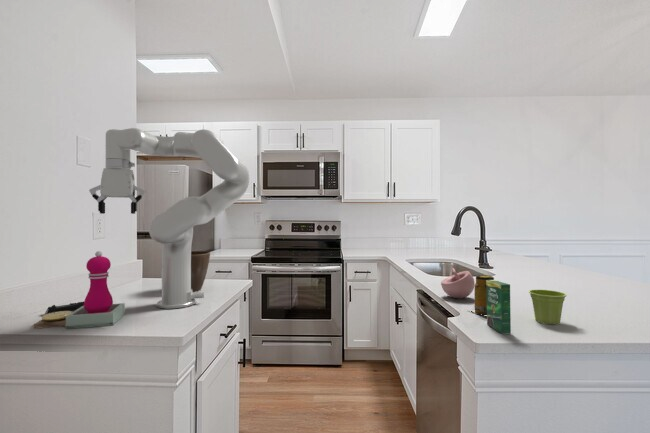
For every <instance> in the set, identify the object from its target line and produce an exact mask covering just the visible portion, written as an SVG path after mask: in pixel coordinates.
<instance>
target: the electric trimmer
mask: <svg viewBox="0 0 650 433" xmlns="http://www.w3.org/2000/svg"><path fill="white" fill-rule="evenodd" d="M82 306H84V301H78V302H72V303H71V302H70V303H69V304H63V305H55V304H53V305H52V306H48V307H47V309H46V311H44V315H45V314H49V313H53V312H59V311H72V312H74V311H75V310H77V309H79V308H80V307H82Z"/></svg>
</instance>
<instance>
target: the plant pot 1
mask: <svg viewBox="0 0 650 433" xmlns="http://www.w3.org/2000/svg"><path fill="white" fill-rule="evenodd" d="M210 258H211V252H210V251H207V250H191V289H192V292H194V291H197V292H200V291H202V288H203V285H204V282H205V280H206V276H207V273H208V268H209V265H210V264H209V263H210ZM199 290H200V291H199Z"/></svg>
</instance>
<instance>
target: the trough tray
mask: <svg viewBox="0 0 650 433" xmlns="http://www.w3.org/2000/svg"><path fill="white" fill-rule="evenodd" d="M109 310H110V311H111V312H108V313H94V314H86V313H88V311H87V310H86V309H85V308H84V306H82V307H80V308H79V309H77V310H75V311H72V313H70V314H69V315H67V316H66V326H65V330H69V329H70V330H71V329H82V328H95V327H108V326H109V327H110V326H114V325H115V324H116V323H117V322H118V321H119V320H120V319H121V318H122V317H123V316H124V315H125V313H126V309H125V302H123V303H113V304H112V306H111V307H110V308H109Z"/></svg>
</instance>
